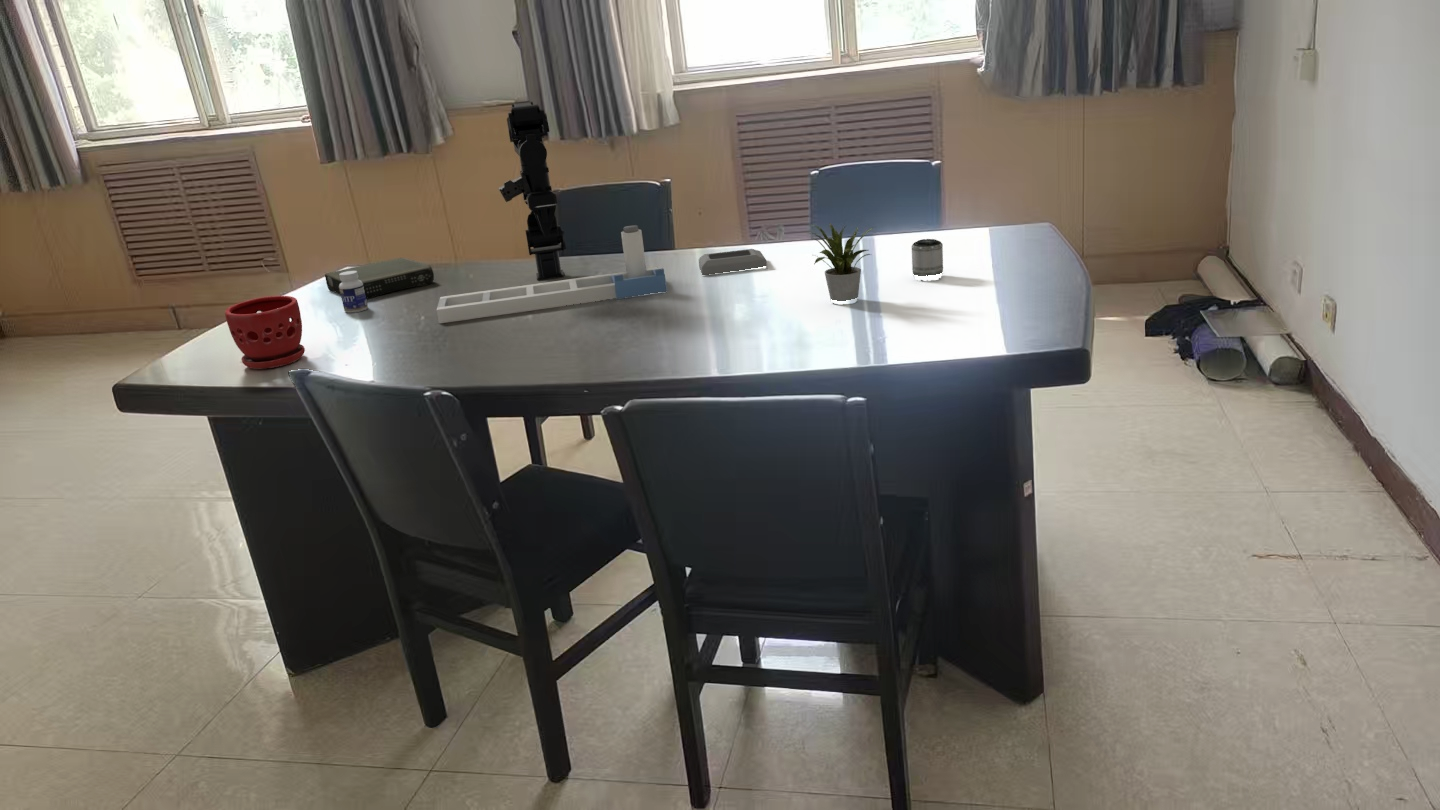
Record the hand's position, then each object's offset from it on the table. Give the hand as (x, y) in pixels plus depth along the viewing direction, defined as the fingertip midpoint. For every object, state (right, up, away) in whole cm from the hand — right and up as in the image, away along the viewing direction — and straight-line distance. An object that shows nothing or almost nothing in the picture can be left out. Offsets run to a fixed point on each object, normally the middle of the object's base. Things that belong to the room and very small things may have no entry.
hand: (544, 233), depth 230 cm
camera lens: (+83, -13, -19) cm, 86 cm away
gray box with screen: (+43, -7, +7) cm, 44 cm away
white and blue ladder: (+3, -16, -6) cm, 17 cm away
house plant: (+63, -19, -30) cm, 72 cm away
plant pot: (-47, -31, -32) cm, 65 cm away
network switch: (-46, -10, +26) cm, 53 cm away
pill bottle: (-44, -17, +4) cm, 48 cm away
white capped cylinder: (+22, -13, -4) cm, 25 cm away
